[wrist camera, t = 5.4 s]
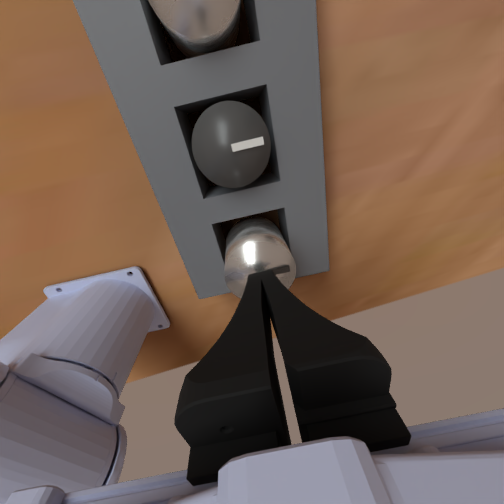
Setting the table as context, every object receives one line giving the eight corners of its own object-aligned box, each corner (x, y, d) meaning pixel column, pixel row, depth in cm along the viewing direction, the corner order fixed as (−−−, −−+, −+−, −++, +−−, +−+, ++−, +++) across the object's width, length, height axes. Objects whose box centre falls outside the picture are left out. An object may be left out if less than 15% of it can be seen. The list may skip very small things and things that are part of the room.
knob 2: (233, 272, 18) (234, 309, 14) (219, 223, 16) (214, 252, 12) (285, 260, 18) (300, 295, 14) (277, 210, 16) (292, 234, 12)
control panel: (204, 272, 22) (199, 299, 18) (85, -42, 12) (23, -116, 8) (313, 248, 21) (329, 270, 18) (283, -95, 12) (306, -197, 8)
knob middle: (211, 182, 17) (205, 195, 13) (193, 118, 15) (179, 111, 11) (266, 169, 17) (276, 179, 13) (255, 103, 15) (263, 90, 11)
